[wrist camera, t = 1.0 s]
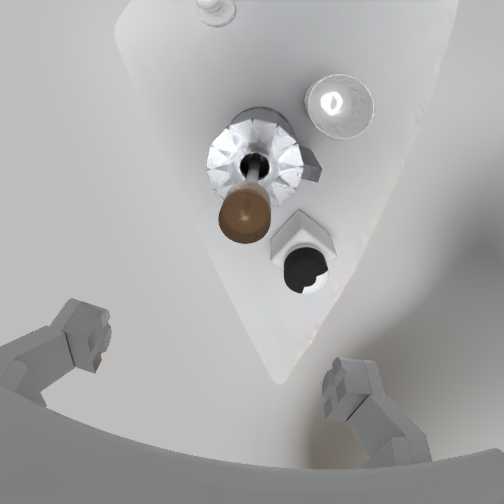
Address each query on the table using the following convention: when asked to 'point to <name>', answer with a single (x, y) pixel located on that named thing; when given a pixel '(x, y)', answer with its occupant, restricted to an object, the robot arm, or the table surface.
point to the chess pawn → (216, 11)
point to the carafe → (270, 146)
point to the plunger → (247, 204)
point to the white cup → (340, 106)
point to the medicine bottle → (303, 253)
